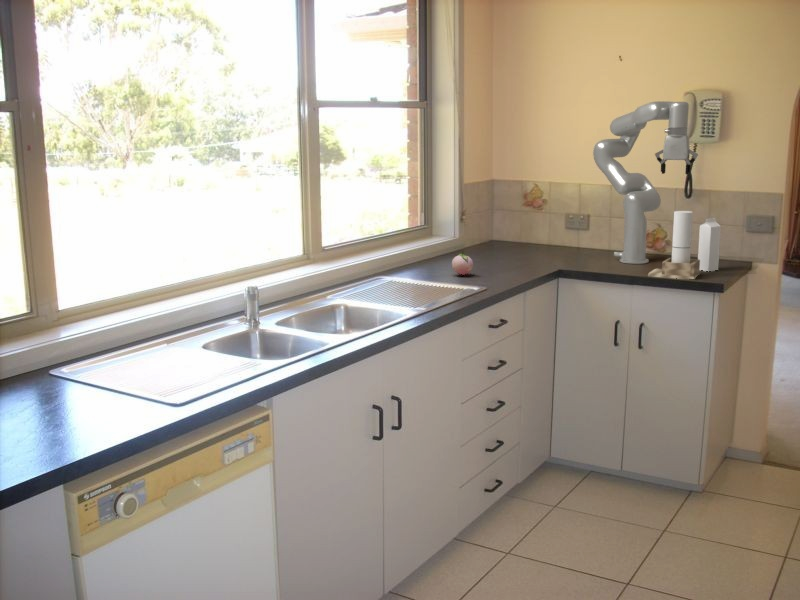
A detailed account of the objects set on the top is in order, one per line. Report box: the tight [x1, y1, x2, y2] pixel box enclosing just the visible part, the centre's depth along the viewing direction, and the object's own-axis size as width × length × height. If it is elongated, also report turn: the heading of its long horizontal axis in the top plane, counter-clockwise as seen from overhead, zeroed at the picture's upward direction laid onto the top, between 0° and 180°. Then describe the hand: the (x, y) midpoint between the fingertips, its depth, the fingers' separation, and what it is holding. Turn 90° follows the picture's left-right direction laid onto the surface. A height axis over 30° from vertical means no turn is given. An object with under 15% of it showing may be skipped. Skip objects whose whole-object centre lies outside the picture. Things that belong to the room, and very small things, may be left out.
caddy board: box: [647, 257, 701, 280], centre depth 351 cm, size 18×13×6 cm
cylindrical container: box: [671, 210, 694, 264], centre depth 348 cm, size 7×7×25 cm
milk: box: [697, 217, 722, 273], centre depth 360 cm, size 6×6×22 cm
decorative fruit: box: [451, 251, 474, 276], centre depth 356 cm, size 9×8×10 cm
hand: (675, 173), depth 359 cm, fingers open, 9 cm apart
